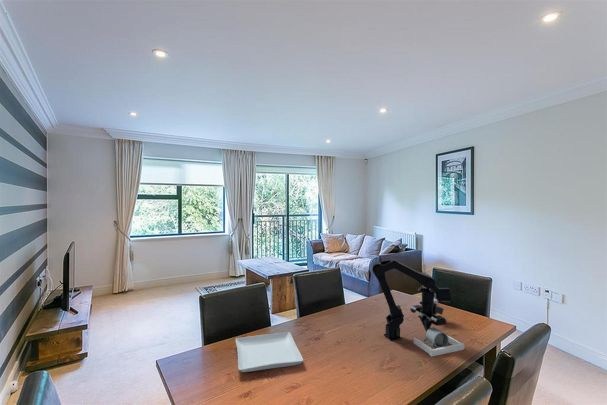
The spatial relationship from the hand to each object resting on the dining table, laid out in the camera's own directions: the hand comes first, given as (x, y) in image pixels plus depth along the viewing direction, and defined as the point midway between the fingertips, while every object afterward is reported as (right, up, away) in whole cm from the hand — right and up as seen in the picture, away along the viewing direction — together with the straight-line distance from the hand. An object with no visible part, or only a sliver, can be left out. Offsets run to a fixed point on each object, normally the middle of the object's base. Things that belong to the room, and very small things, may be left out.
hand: (427, 331), depth 148 cm
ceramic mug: (+1, -4, -6) cm, 7 cm away
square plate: (-78, -5, -14) cm, 80 cm away
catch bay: (+2, -4, -6) cm, 7 cm away
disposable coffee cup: (+12, -4, +25) cm, 28 cm away
